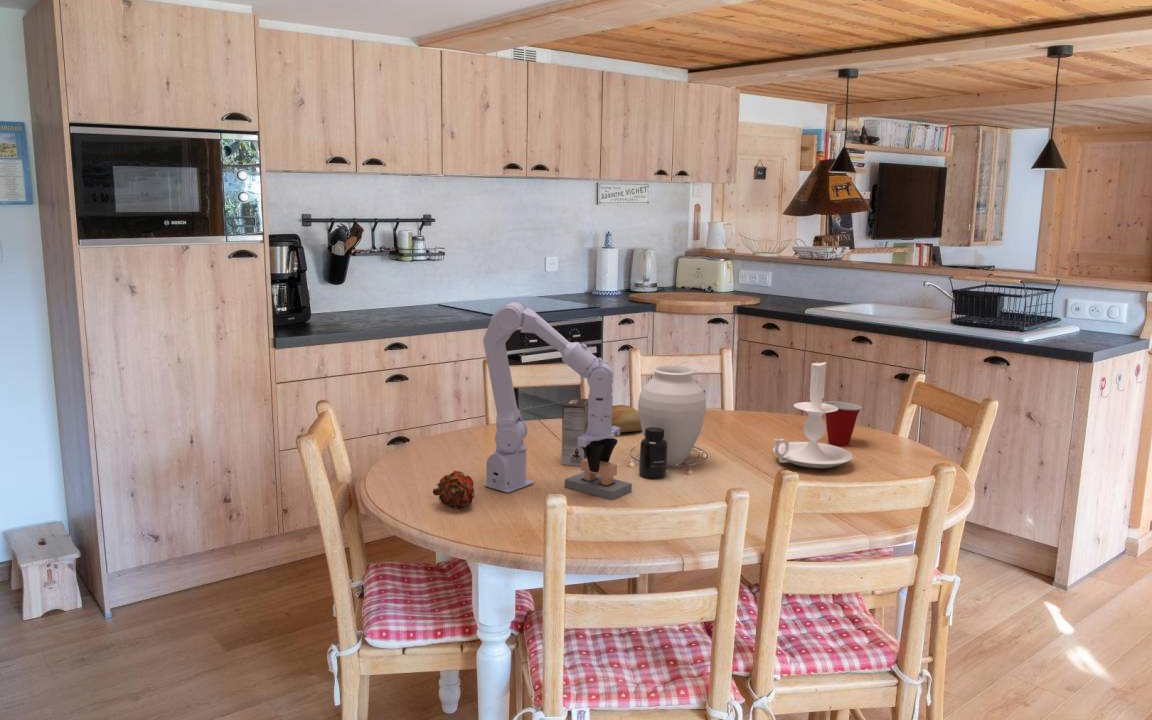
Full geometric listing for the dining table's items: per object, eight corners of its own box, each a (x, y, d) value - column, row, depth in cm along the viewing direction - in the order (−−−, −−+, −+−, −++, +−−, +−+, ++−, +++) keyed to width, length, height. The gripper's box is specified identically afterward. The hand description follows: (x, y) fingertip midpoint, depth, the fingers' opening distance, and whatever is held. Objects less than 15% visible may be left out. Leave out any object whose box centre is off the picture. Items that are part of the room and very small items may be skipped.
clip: (609, 486, 208) (609, 467, 207) (580, 479, 213) (581, 460, 212) (616, 483, 211) (617, 464, 210) (588, 476, 216) (588, 457, 215)
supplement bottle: (658, 481, 219) (660, 434, 217) (634, 476, 223) (635, 430, 221) (670, 474, 225) (672, 428, 223) (646, 469, 229) (648, 424, 227)
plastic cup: (866, 445, 256) (870, 405, 253) (842, 451, 250) (845, 409, 247) (836, 436, 264) (839, 397, 262) (812, 441, 258) (815, 401, 256)
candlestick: (744, 461, 238) (750, 358, 233) (809, 448, 251) (816, 351, 246) (802, 482, 221) (810, 372, 216) (868, 468, 234) (877, 364, 229)
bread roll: (590, 431, 265) (591, 405, 263) (631, 425, 273) (632, 400, 271) (609, 439, 257) (609, 412, 255) (650, 432, 265) (651, 406, 263)
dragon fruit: (461, 522, 194) (445, 512, 204) (489, 495, 196) (473, 487, 207) (437, 494, 191) (422, 485, 202) (466, 467, 194) (451, 460, 205)
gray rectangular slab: (612, 500, 205) (612, 491, 205) (564, 487, 213) (564, 479, 213) (631, 491, 211) (631, 483, 211) (584, 479, 220) (584, 471, 219)
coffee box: (568, 455, 240) (569, 397, 237) (591, 456, 239) (592, 398, 236) (560, 464, 231) (561, 404, 228) (584, 466, 230) (586, 406, 227)
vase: (622, 460, 236) (625, 368, 231) (663, 448, 248) (666, 360, 244) (676, 476, 224) (680, 379, 219) (716, 461, 237) (721, 370, 232)
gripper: (595, 423, 201) (593, 480, 203) (631, 411, 212) (629, 466, 215) (570, 417, 205) (569, 474, 208) (607, 406, 216) (605, 460, 219)
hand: (598, 469), depth 211 cm, fingers closed on clip, 3 cm apart
